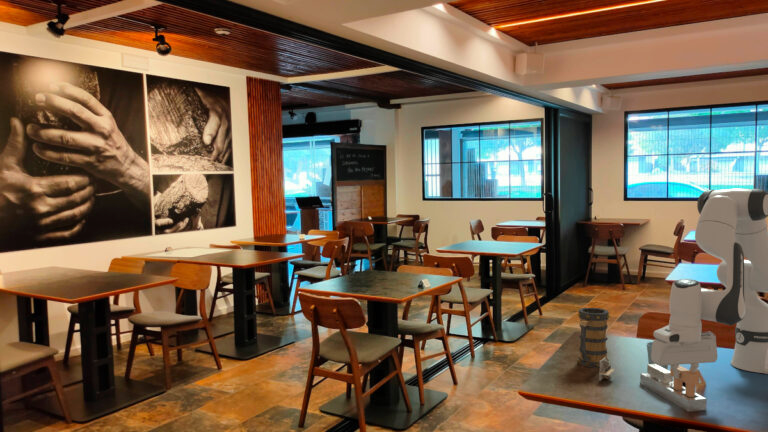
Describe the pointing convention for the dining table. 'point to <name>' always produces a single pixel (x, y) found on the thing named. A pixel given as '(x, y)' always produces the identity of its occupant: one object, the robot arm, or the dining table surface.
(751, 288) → the robot arm
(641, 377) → the rail
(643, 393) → the dining table surface
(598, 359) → the mug
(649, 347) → the cup
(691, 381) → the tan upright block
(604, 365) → the architectural model
